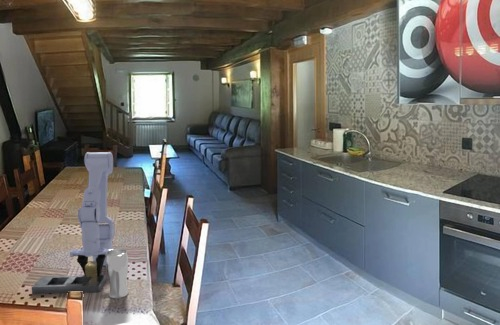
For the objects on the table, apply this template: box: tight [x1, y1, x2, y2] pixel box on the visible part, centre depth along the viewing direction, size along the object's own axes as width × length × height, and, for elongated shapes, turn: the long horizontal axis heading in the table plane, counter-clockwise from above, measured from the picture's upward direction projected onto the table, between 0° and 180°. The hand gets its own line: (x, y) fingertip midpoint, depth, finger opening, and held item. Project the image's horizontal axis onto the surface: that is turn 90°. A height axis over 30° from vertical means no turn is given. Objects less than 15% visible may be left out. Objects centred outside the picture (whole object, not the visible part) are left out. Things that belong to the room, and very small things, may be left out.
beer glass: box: [105, 248, 129, 300], centre depth 133 cm, size 7×7×15 cm
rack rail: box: [31, 274, 107, 295], centre depth 139 cm, size 8×22×2 cm, turn 94°
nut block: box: [85, 260, 98, 275], centre depth 145 cm, size 4×4×6 cm
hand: (93, 274), depth 145 cm, fingers closed on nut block, 4 cm apart
